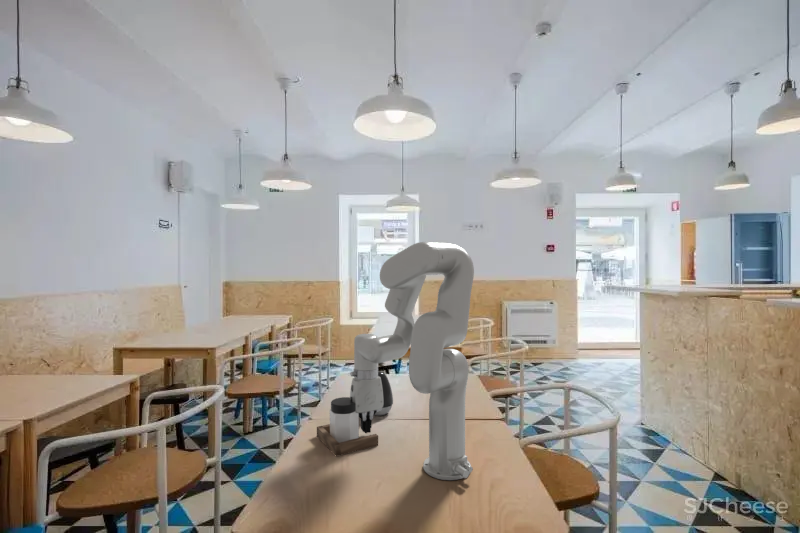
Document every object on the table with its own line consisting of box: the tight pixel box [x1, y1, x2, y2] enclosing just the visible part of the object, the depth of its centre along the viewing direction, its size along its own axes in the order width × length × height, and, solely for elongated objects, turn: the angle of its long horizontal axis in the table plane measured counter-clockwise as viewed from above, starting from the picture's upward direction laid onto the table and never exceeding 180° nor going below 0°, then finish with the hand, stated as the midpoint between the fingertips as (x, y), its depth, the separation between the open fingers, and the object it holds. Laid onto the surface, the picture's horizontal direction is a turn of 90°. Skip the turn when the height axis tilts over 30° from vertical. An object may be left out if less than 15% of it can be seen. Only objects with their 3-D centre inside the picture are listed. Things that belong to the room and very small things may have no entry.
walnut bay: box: [316, 423, 379, 457], centre depth 127 cm, size 16×14×3 cm
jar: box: [329, 396, 360, 443], centre depth 128 cm, size 9×8×12 cm
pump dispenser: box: [374, 370, 394, 416], centre depth 151 cm, size 10×10×15 cm
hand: (366, 431), depth 131 cm, fingers closed
